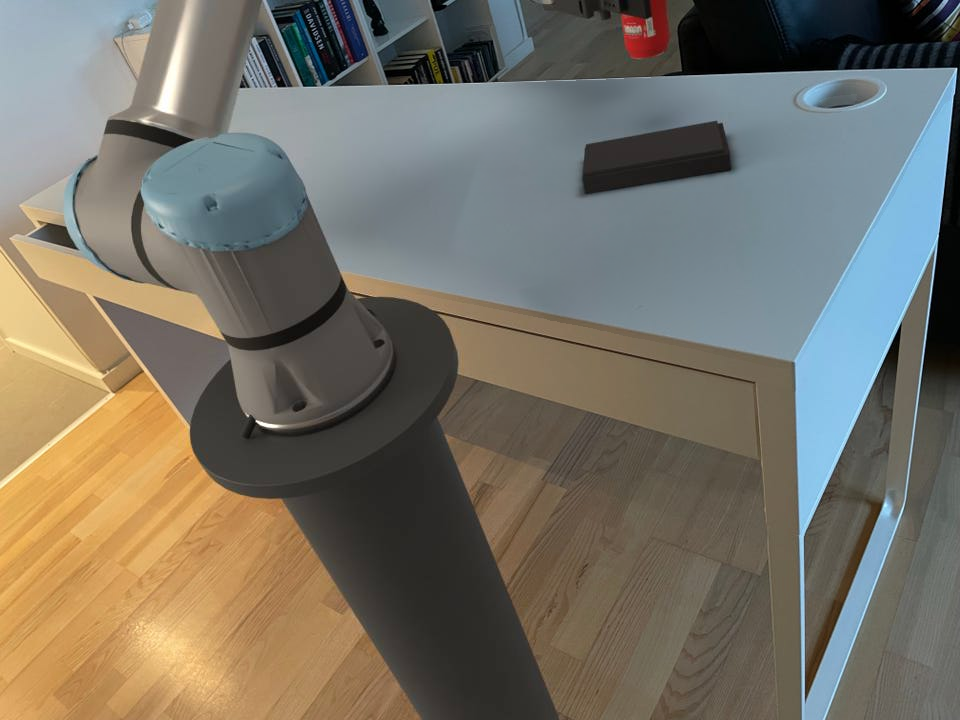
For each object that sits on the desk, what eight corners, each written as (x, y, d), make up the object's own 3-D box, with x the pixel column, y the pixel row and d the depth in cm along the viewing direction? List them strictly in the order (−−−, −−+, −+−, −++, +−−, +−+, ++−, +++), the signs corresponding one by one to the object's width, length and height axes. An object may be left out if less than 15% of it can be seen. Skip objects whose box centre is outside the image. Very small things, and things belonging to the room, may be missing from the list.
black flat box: (723, 138, 90) (722, 118, 88) (730, 170, 84) (729, 148, 82) (587, 162, 94) (584, 143, 92) (585, 193, 88) (581, 174, 86)
